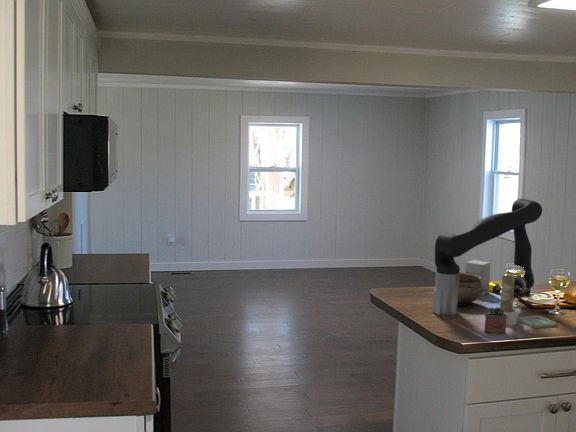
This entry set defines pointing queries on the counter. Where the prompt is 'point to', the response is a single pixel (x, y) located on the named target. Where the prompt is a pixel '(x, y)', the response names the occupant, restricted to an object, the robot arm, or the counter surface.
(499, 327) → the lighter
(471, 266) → the supplement box
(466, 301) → the brown wooden bowl
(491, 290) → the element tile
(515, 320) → the crock
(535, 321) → the tray
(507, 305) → the pestle
